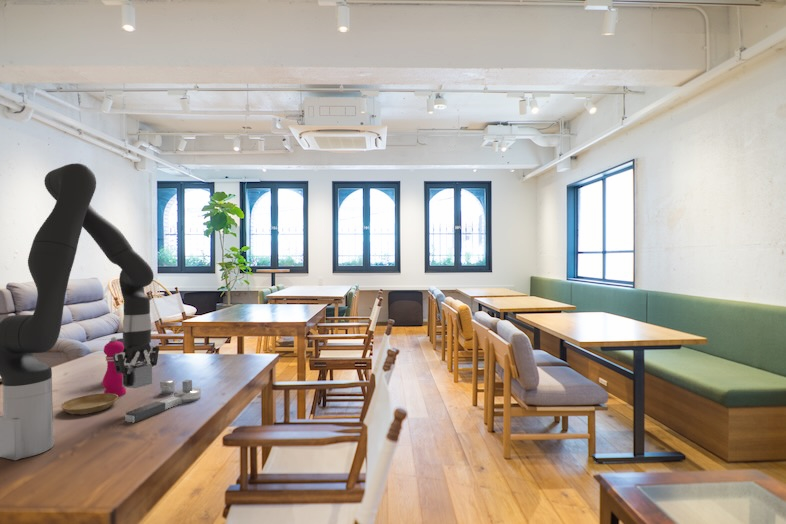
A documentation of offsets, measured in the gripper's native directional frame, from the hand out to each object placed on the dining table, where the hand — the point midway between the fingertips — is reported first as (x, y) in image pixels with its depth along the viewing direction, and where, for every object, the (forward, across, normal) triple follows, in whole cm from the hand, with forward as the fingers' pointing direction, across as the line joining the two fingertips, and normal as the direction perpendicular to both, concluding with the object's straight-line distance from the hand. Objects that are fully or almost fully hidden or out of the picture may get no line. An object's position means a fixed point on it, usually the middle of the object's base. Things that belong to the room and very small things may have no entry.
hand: (137, 383), depth 132 cm
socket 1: (+1, 0, 0) cm, 1 cm away
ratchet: (+8, -4, +7) cm, 12 cm away
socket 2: (+8, -16, -5) cm, 18 cm away
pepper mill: (+8, -8, -21) cm, 24 cm away
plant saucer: (+9, +4, -16) cm, 18 cm away
